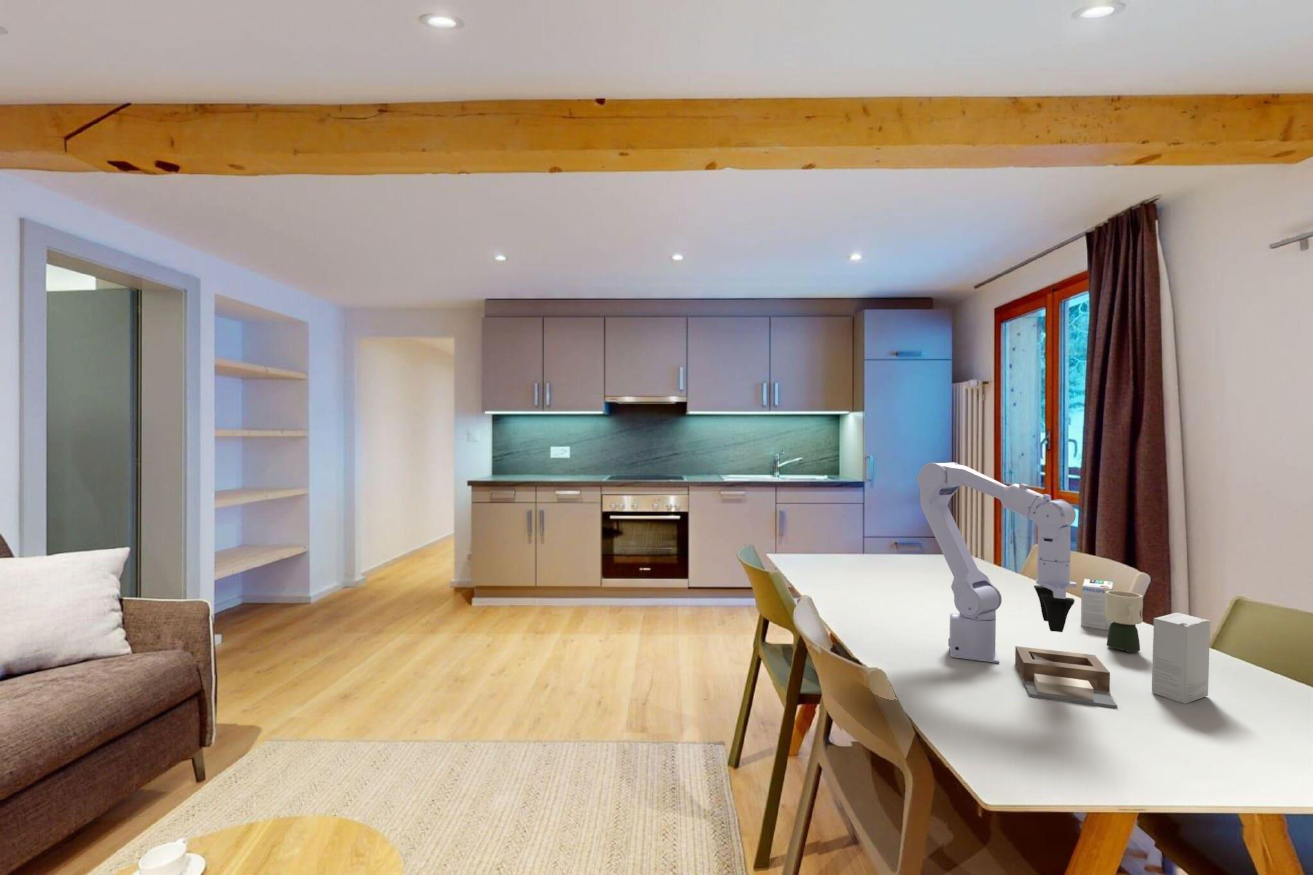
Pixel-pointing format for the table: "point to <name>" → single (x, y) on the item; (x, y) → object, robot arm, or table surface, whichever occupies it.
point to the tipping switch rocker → (1040, 658)
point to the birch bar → (1063, 686)
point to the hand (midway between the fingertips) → (1052, 626)
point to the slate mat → (1099, 697)
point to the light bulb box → (1094, 604)
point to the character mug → (1123, 619)
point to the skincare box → (1181, 657)
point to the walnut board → (1062, 666)
